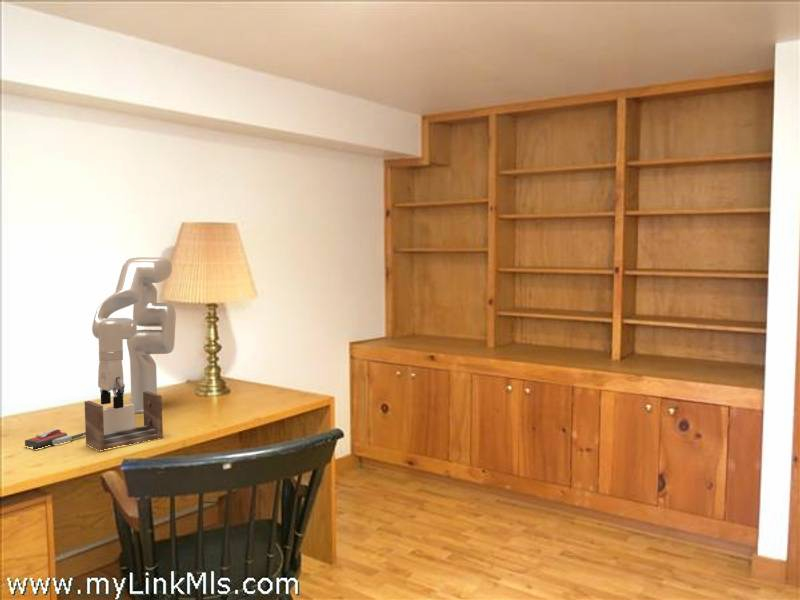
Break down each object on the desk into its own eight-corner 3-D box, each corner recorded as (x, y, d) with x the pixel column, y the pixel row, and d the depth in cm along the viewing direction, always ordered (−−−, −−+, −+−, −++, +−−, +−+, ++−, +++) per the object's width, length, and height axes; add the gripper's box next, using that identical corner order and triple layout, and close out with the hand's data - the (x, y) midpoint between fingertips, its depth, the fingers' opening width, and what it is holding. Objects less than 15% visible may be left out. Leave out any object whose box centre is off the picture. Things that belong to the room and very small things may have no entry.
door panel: (131, 428, 236) (131, 403, 235) (136, 430, 234) (135, 405, 233) (91, 436, 226) (90, 410, 225) (96, 438, 223) (95, 412, 223)
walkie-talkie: (39, 453, 209) (91, 436, 227) (39, 439, 208) (91, 424, 227) (20, 450, 212) (72, 433, 230) (19, 436, 212) (72, 421, 230)
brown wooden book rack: (148, 432, 231) (147, 391, 230) (162, 438, 224) (161, 395, 223) (86, 445, 216) (84, 401, 214) (99, 452, 209) (97, 406, 208)
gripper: (89, 355, 231) (90, 404, 232) (111, 359, 219) (112, 411, 220) (110, 353, 236) (111, 400, 237) (133, 357, 225) (134, 407, 226)
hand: (112, 405), depth 229 cm, fingers open, 9 cm apart
